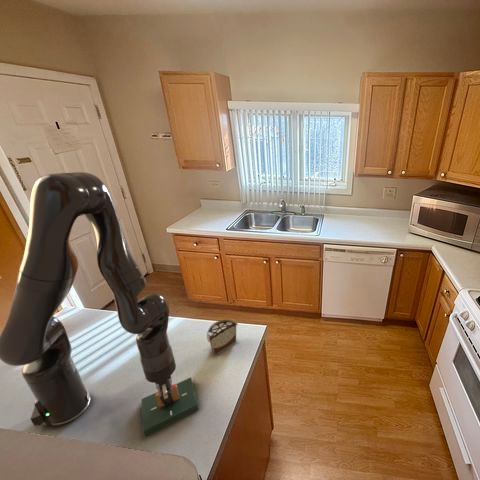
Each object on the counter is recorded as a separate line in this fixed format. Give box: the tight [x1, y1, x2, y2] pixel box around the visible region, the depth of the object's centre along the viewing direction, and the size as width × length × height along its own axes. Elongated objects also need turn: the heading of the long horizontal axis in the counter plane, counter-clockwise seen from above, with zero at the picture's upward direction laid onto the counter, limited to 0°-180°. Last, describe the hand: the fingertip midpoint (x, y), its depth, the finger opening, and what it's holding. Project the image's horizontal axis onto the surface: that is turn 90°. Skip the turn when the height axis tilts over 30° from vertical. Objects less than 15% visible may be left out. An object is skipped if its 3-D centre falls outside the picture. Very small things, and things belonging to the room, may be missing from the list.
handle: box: [154, 383, 180, 408], centre depth 77 cm, size 6×1×5 cm, turn 125°
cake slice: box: [206, 318, 238, 357], centre depth 100 cm, size 12×6×10 cm, turn 141°
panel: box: [141, 377, 199, 437], centre depth 78 cm, size 14×11×3 cm
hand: (169, 400), depth 78 cm, fingers closed
